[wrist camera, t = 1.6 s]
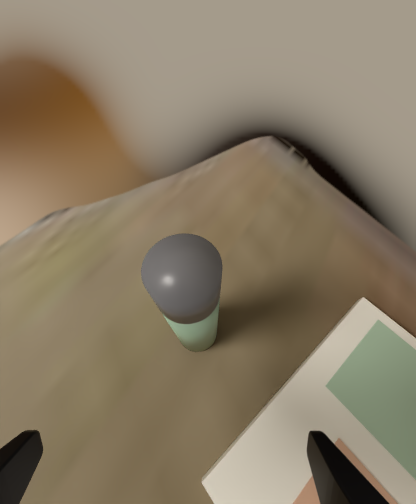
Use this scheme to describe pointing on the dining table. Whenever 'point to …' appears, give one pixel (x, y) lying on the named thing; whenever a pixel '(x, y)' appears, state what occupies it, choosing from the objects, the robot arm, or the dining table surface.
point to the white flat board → (332, 418)
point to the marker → (186, 287)
